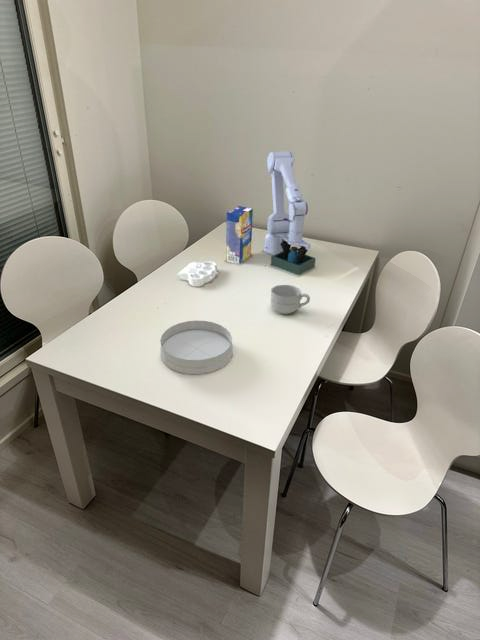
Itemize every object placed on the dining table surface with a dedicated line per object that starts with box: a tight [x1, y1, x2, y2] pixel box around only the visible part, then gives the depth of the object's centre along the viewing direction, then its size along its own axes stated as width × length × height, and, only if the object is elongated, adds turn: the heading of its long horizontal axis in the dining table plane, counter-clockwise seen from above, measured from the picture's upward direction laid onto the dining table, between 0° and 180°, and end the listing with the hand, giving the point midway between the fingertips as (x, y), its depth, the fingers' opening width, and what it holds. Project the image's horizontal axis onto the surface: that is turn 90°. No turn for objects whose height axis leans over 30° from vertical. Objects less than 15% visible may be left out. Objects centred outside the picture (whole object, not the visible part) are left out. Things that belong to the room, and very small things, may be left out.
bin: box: [270, 248, 317, 276], centre depth 197 cm, size 15×12×5 cm
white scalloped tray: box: [177, 260, 219, 288], centre depth 186 cm, size 3×18×15 cm
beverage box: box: [225, 205, 254, 264], centre depth 198 cm, size 7×11×22 cm, turn 153°
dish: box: [159, 320, 233, 375], centre depth 140 cm, size 22×22×5 cm
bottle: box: [288, 246, 299, 265], centre depth 195 cm, size 5×5×8 cm
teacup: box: [270, 284, 311, 315], centre depth 163 cm, size 14×11×8 cm
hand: (293, 260), depth 196 cm, fingers open, 6 cm apart
